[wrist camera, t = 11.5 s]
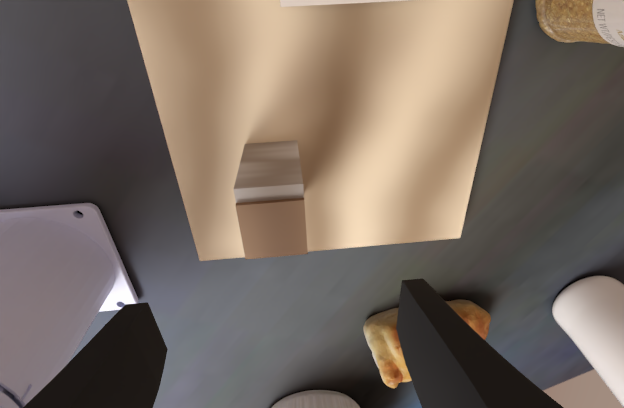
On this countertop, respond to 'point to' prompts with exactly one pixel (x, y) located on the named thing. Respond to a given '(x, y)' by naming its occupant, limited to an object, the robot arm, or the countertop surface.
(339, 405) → the ramekin
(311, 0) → the tile
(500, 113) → the countertop surface
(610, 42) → the sprinkles bottle
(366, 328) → the pastry
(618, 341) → the drinking glass
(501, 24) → the board
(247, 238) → the tan wooden block
